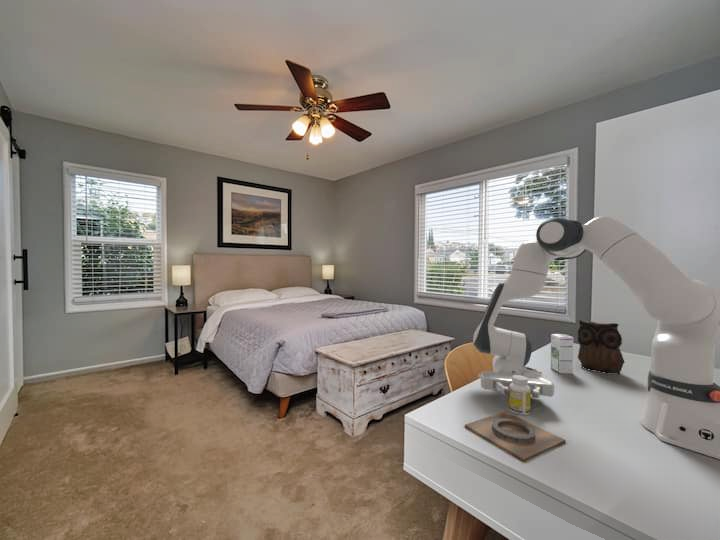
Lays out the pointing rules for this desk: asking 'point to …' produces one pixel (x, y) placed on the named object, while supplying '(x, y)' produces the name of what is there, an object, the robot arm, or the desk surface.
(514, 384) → the supplement bottle
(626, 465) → the desk surface
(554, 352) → the syrup box
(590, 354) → the owl
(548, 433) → the board
